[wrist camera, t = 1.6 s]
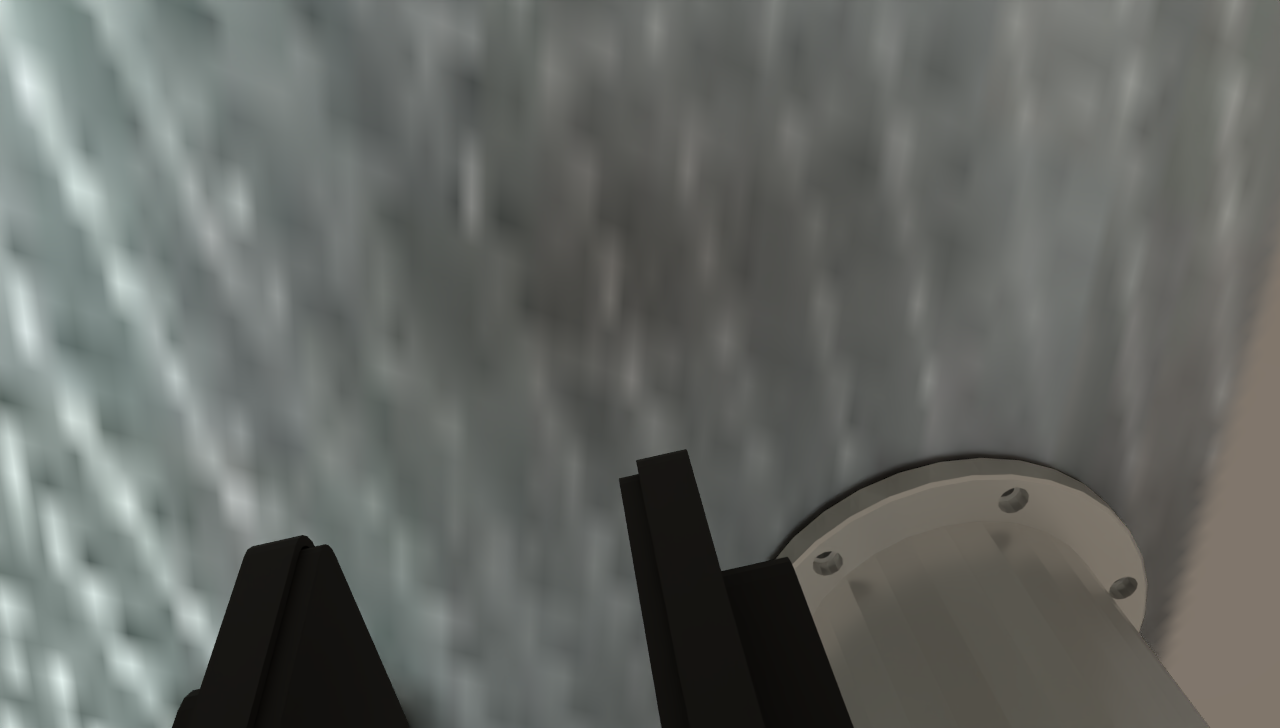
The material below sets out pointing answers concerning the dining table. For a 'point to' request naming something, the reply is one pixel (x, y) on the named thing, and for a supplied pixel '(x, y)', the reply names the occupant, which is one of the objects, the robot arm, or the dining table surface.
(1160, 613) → the dining table surface
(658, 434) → the dining table surface
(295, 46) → the dining table surface
